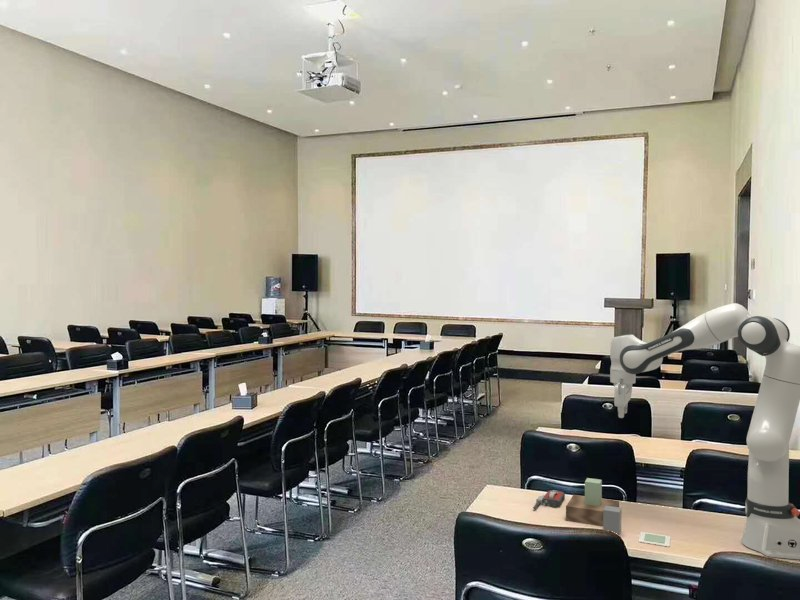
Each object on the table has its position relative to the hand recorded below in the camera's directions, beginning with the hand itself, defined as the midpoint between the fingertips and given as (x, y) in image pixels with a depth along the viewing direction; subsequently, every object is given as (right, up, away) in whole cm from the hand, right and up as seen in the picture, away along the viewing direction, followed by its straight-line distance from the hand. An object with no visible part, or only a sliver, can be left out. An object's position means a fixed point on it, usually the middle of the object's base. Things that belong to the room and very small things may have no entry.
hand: (622, 415), depth 232 cm
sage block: (-14, -29, -11) cm, 34 cm away
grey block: (-12, -34, -25) cm, 44 cm away
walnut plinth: (-14, -34, -11) cm, 38 cm away
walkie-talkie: (-26, -35, +3) cm, 44 cm away
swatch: (-1, -34, -31) cm, 46 cm away
